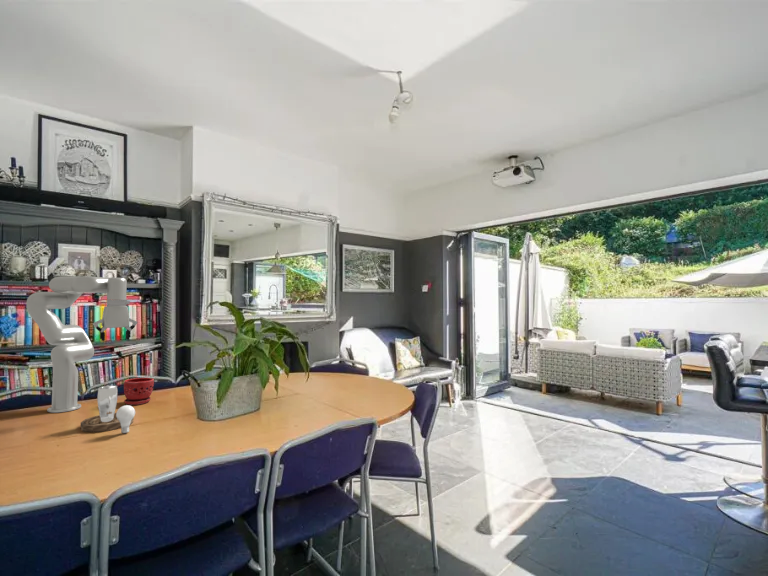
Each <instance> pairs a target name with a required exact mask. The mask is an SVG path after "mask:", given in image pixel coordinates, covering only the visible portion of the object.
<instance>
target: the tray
mask: <svg viewBox="0 0 768 576" xmlns="http://www.w3.org/2000/svg"><path fill="white" fill-rule="evenodd" d="M116 413H117V412H115V420H116V422H111V423H105V424H98V421H99V414H98V415H94V416H91V417H88V418H85V419H84V420H82V421H81V422H80V431H82V432H85V433H102V432H109V431H115V430H119V429H121V425H120V422H119V420H118V419H117V417H116ZM134 419H135V416H134V417H133V419H132V420H131V423H130V425H132V424H133V423H134Z"/></svg>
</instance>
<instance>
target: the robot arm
mask: <svg viewBox="0 0 768 576" xmlns="http://www.w3.org/2000/svg"><path fill="white" fill-rule="evenodd" d="M127 282H128V281H127V279H126V278H124V277H105V276H104V277H103V276H83V275H82V276H79V275H75V276H73V275H72V276H71V275H69V276H68V275H67V276H66V275H65V276H64V275H63V276H62V275H61V276H56V277H54V278H51V279H50V280H49V283H48V287H49V289H50V290H51V291H38V292H33V293H32V294H30V295H29V296H28V297H27V299H26V310H27V313H28V314H29V316H30V317H31V318H32V320H33V321H34V323H36V325H37V326H38V329H39V330H40V332H41V334H42V335H43V338H44V339H45V340H46V342H47V343H48V344H49V345H51V346H55V347H53V348H52V349H51V351H50V359H51V363H52V364H51V365H52V388H51V389H52V390H51V394H52V395H51V406H50V407H48V408H47V409H46V410H47V412H48V413H51V414H52V413H56V414H57V413H64V412H65V413H66V412H71V411H75V410H78V409H81V408H82V404H81V403H78V391H79V390H78V389H79V371H78V367H77V366H76V365H75V363H79V362H84V361H88V360H91V359H92V358H93V357H94V355H95V348H94V345H93V344H92V341H91V340H90V338H89V336H88V334H87V332H86V331H85V330H84V328H82V327H81V326H79V324H78V325H76V324H63V322H62V321H61V319H60V317H59V316H58V314H56V313H54V311H51V310H61V309H69V308H70V307H71V306H72V305H73V304H75V302H76V301H77V299H79V298H80V297H81V296H82V294H86V293H88V294H92V293H93V294H95V293H97V294H106V306H104V308H103V311H102V318H101V319H98V320H97V321H94V322H93V326H94V328H95V330H97V331H98V332H99V340H101V342H104V341H106V332H105V331H106V330H107V329H113V328H114V329H117V328H119V329H120V328H124V329H125V340H130V338H131V332H132V330H133V329H134V328H136V326H137V324H138V321H137V320H134V319H132V318H130V315H129V313H130V311H129V308H128V306H127V305H130V303H131V302H130V301H129V300H127V286H128V283H127ZM130 323H132V325H130ZM100 324H101V326H102V327H101V326H99V325H100Z"/></svg>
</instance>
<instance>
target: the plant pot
mask: <svg viewBox="0 0 768 576" xmlns="http://www.w3.org/2000/svg"><path fill="white" fill-rule="evenodd" d="M154 385H155V379H154V378H151V377H138V378H137V377H136V378H129V379H125V380H124V381H123V394H124V397H125V398H126V399H124V400H123V401H124V403H125V404H126V405H130V406H132V405H133V406H136V405H143V404H146V403H149V401H151V399H152V398H151V397H150V396H151V395H152V393H153V390H154Z"/></svg>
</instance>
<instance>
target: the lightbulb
mask: <svg viewBox="0 0 768 576" xmlns="http://www.w3.org/2000/svg"><path fill="white" fill-rule="evenodd" d="M115 413H116V417H117V419H118V420H119V422H120V425H121V428H120V429H121V430H120V431H121V432H120V433H122V434H127V433H129V432H130V425H131V424H130V423H131V420H132V419H133V417H134V418H135V415H136V409H135V408H134V407H133V406H132V405H129V404H126V405H122V406H120V407H119V408H118V409H117V411H116V412H115ZM133 420H134V419H133Z"/></svg>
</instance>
